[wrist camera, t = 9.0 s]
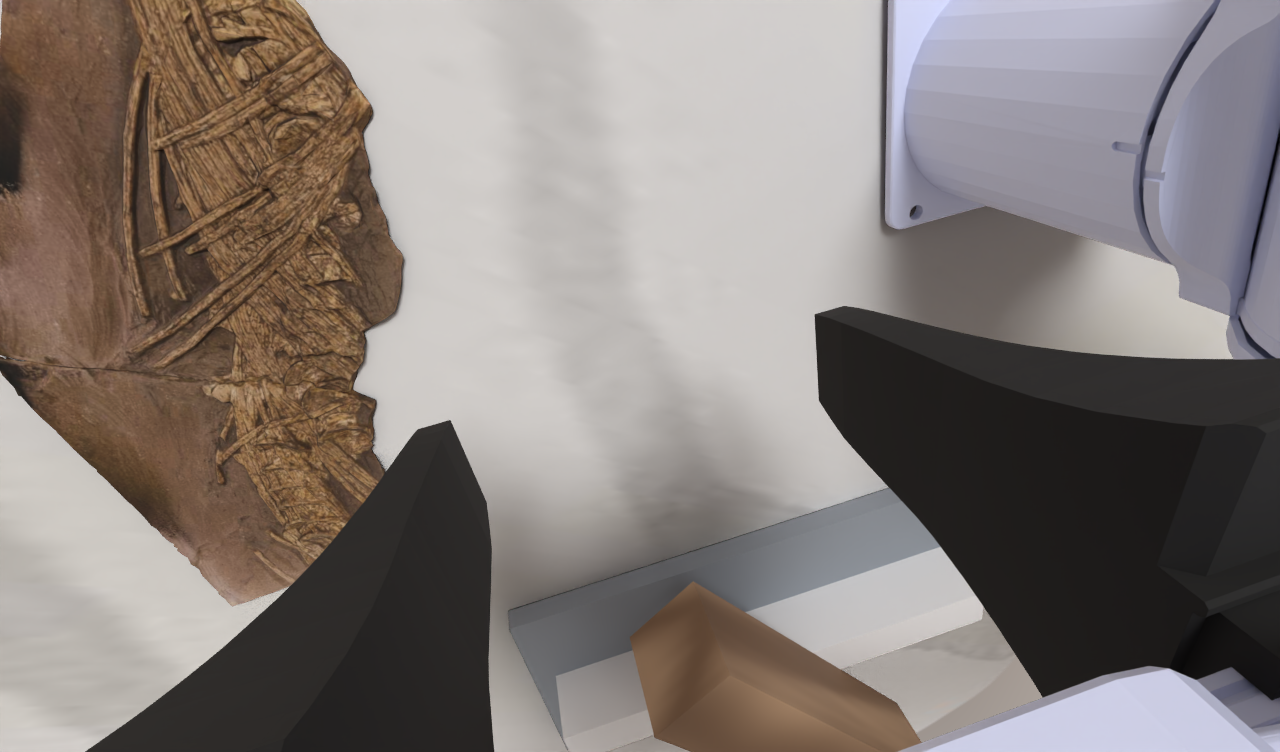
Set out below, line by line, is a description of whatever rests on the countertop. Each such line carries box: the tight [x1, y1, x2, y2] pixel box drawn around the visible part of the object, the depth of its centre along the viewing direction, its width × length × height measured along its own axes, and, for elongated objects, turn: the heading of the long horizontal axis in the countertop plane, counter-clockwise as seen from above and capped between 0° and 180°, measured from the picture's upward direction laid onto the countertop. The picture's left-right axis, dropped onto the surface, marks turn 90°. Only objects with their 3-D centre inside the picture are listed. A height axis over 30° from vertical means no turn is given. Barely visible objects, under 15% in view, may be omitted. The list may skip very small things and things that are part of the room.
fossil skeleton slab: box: [0, 0, 403, 606], centre depth 18 cm, size 26×11×1 cm, turn 169°
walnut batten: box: [630, 581, 922, 752], centre depth 25 cm, size 4×16×4 cm, turn 44°
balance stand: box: [508, 488, 984, 752], centre depth 29 cm, size 22×10×4 cm, turn 101°
